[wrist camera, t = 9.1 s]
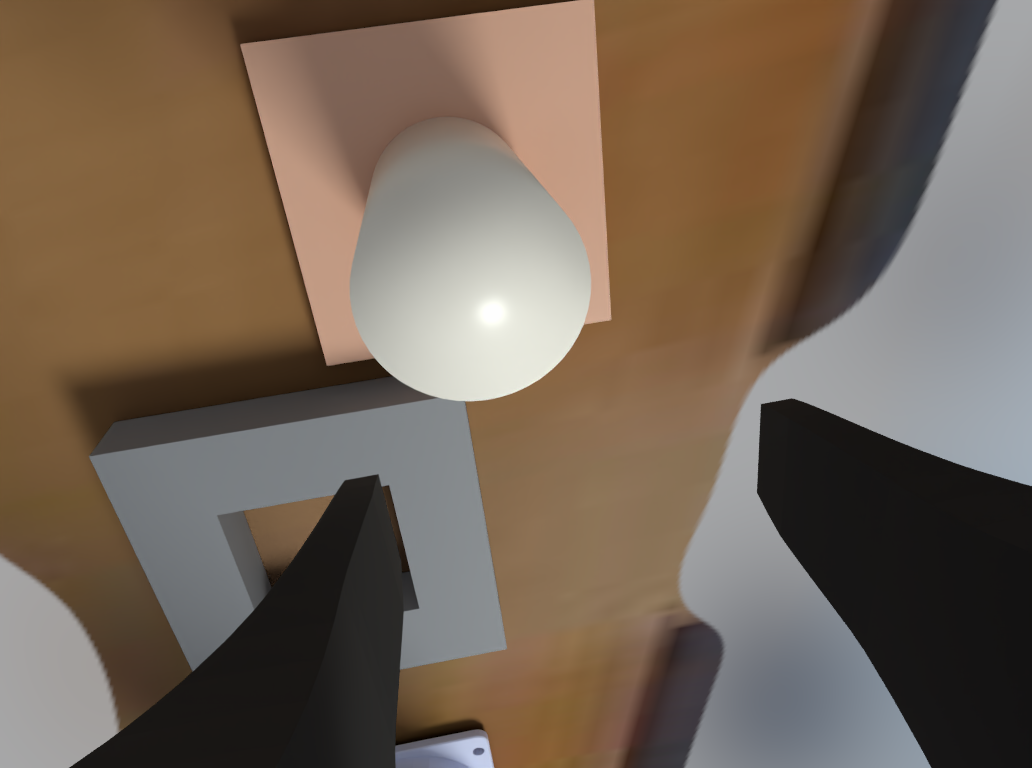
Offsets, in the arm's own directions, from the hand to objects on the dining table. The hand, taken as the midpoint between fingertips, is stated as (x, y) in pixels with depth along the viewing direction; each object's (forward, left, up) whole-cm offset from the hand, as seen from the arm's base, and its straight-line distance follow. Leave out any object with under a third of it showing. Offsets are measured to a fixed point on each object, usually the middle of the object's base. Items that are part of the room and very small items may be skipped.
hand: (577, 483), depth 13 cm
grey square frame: (-8, +7, -10) cm, 15 cm away
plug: (+3, +1, -10) cm, 10 cm away
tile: (+3, +1, -10) cm, 11 cm away
